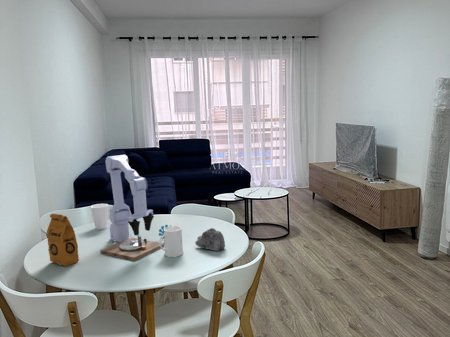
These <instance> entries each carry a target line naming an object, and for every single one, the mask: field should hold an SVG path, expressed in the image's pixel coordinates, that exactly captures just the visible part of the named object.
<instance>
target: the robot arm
mask: <svg viewBox="0 0 450 337" xmlns="http://www.w3.org/2000/svg"><path fill="white" fill-rule="evenodd" d="M105 168H106V169H105V170H106V173H108V174H109V175H110V182H111V188H112V195H113V196H112V197H113V203H114V204H113V205H112V207H110V208H109V220H110V222H111V223H110V226H109V234H110V238H109V241H112V242H116V243H118V242H121V241H123V240H126V239H128V238H130V237H131V238H134V237H133V236H130V228H131V229H132V231H133V234H134V236H137V237H138V236H140V235H139V234H140V223H141V221H140V220H139V219H143V223H144V230H145V231H148V232H149V231H150V230H151V227H152V226H151V225H152V221H153V220H154V217H155V215H154V210H153V209H148V208H147V207H148V206H147V194H146V191H147V189H148V181H147V178H146V177H143V176H140V175H139V173H138V172H137V170H135V169H133V168H131V166H130V165H129V158H128V155H126V154H120V155H110V156H109V155H108V156H107V157H106V158H105ZM122 172H123V173H124V178H125V179H126V180H127V182H128V183H129V187H130V190H131V195H132V197H133V198H132V200H133V212H134V213H133V214H132V212H131V210H130V209H131V208H130V206H129V205H127V204H126V203H125V199H124V193H123V191H124V190H123V184H122V177H121V173H122ZM129 225H130V227H129Z"/></svg>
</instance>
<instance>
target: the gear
mask: <svg viewBox="0 0 450 337" xmlns="http://www.w3.org/2000/svg"><path fill="white" fill-rule="evenodd" d="M170 226H172V225H168V224H165V225H162V226H161V228H159V230H158V232H159V233H158V236H160V237H162V236H163V235H164V228H166V227H170ZM162 240H164V237H163V239H162Z"/></svg>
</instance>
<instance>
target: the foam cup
mask: <svg viewBox="0 0 450 337" xmlns="http://www.w3.org/2000/svg"><path fill="white" fill-rule="evenodd" d="M90 211H91V216H92V219H93V223H94V227H95V229H96V230H104V229H107V228H108V220H109V204H108V203H96V204H92V205H91V206H90Z"/></svg>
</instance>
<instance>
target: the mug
mask: <svg viewBox="0 0 450 337" xmlns="http://www.w3.org/2000/svg"><path fill="white" fill-rule="evenodd" d="M182 230H183V229H182V227H181V226H179V225H177V226H176V225H171V226H170V225H169V226H168V227H166V228H165V227H164V235H163V236H160V239H159V243H160V247H161V248H160V250H161V249H162V250H163V251H164V255H165V257H168V258H177V257H180V256H183V254H184V250H183V248H184V247H183V233H182ZM163 237H164V239H163ZM162 240H163V241H164V247H162V246H161V243H162Z"/></svg>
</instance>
